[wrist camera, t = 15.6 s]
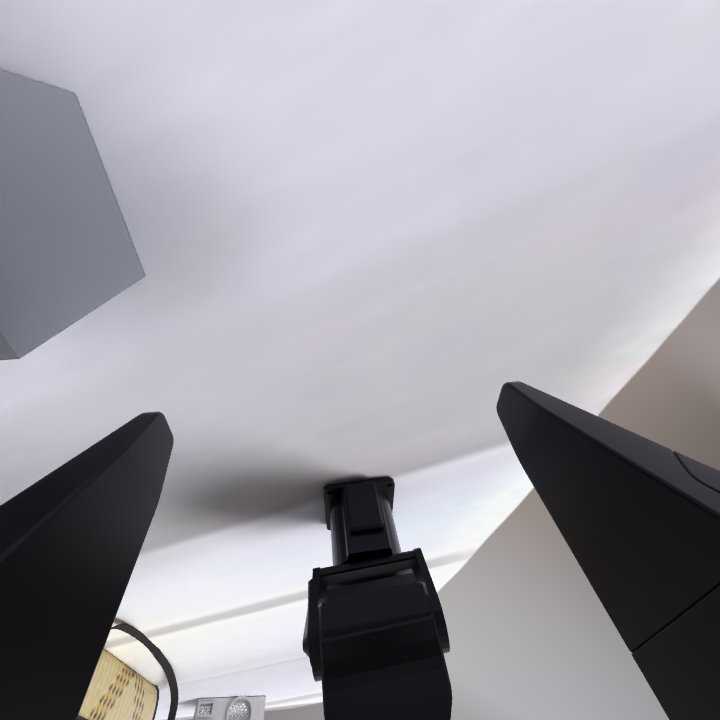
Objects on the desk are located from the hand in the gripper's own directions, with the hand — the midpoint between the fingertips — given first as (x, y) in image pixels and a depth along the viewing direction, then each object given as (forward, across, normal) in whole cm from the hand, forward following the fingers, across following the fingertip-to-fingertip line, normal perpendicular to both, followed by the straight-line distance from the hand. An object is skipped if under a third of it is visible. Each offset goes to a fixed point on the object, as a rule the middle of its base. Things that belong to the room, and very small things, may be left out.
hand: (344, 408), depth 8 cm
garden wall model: (+12, +20, +73) cm, 77 cm away
